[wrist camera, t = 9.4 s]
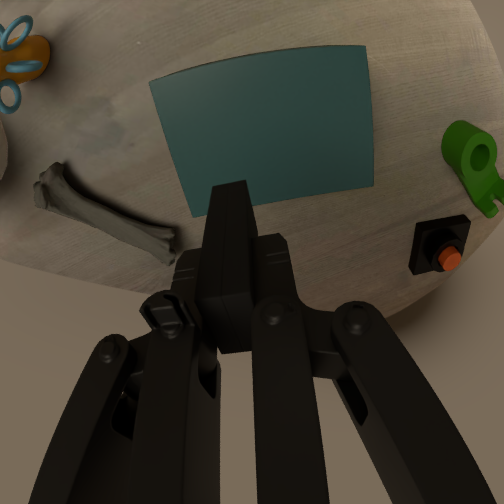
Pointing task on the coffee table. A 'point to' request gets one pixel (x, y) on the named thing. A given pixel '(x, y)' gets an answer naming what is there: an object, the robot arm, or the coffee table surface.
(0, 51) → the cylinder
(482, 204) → the green ring bracket
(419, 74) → the coffee table surface
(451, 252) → the button
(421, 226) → the control block
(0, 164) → the container
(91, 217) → the bone
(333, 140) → the tin lid
